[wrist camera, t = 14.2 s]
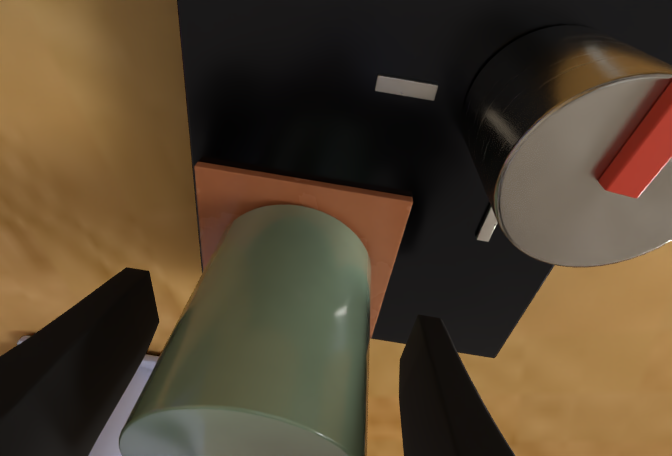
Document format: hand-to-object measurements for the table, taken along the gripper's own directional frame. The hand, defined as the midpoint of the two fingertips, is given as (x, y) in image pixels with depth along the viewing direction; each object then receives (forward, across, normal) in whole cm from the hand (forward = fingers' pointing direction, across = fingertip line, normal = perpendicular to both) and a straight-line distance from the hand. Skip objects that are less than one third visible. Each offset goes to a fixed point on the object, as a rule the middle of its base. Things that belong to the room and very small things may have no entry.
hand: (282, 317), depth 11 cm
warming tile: (+2, 0, 0) cm, 2 cm away
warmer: (+5, -2, -3) cm, 6 cm away
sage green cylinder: (+2, 0, 0) cm, 2 cm away
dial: (+2, -5, -6) cm, 8 cm away
